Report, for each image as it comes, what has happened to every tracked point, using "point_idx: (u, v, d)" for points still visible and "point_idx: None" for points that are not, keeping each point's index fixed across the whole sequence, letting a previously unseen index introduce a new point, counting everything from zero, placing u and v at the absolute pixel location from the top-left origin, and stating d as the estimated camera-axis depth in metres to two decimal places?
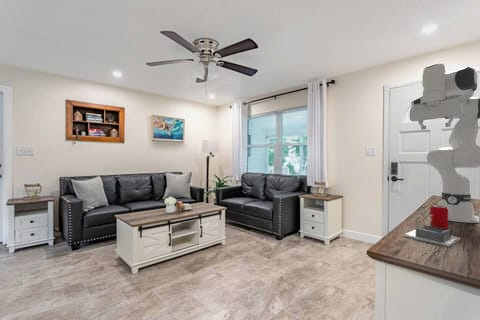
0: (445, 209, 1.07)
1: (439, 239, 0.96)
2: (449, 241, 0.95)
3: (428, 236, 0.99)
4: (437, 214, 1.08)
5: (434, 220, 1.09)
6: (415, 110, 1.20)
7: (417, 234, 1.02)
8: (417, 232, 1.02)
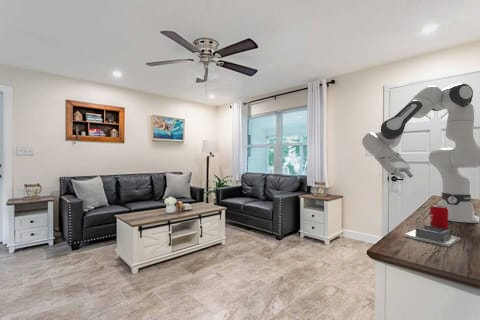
0: (445, 209, 1.07)
1: (439, 239, 0.96)
2: (449, 241, 0.95)
3: (428, 236, 0.99)
4: (437, 214, 1.08)
5: (434, 220, 1.09)
6: None
7: (417, 234, 1.02)
8: (417, 232, 1.02)
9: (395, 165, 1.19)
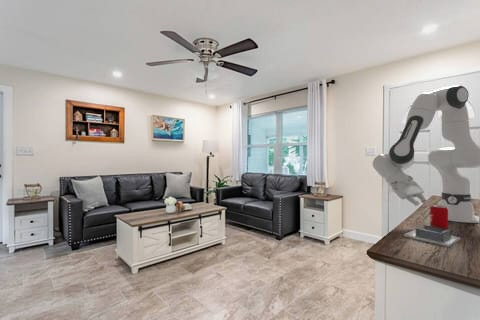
0: (445, 209, 1.07)
1: (439, 239, 0.96)
2: (449, 241, 0.95)
3: (428, 236, 0.99)
4: (437, 214, 1.08)
5: (434, 220, 1.09)
6: None
7: (417, 234, 1.02)
8: (417, 232, 1.02)
9: (409, 191, 1.14)
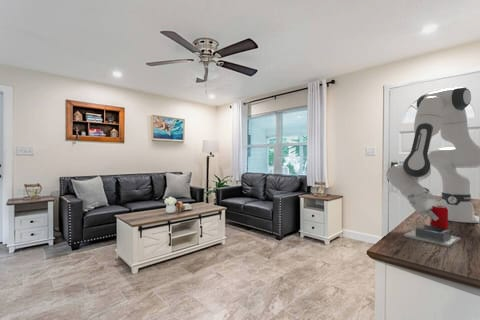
0: (445, 209, 1.07)
1: (439, 239, 0.96)
2: (449, 241, 0.95)
3: (428, 236, 0.99)
4: (437, 214, 1.08)
5: (434, 220, 1.09)
6: None
7: (417, 234, 1.02)
8: (417, 232, 1.02)
9: (427, 206, 1.09)
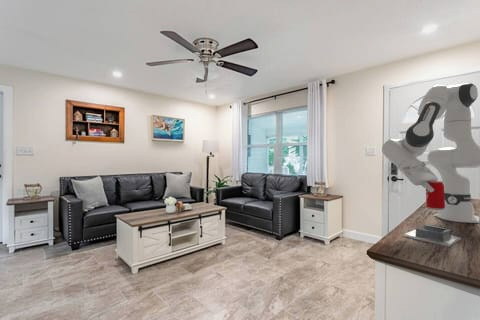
0: (441, 184, 1.03)
1: (439, 239, 0.96)
2: (449, 241, 0.95)
3: (428, 236, 0.99)
4: None
5: (430, 195, 1.05)
6: None
7: (417, 234, 1.02)
8: (417, 232, 1.02)
9: (423, 177, 1.05)
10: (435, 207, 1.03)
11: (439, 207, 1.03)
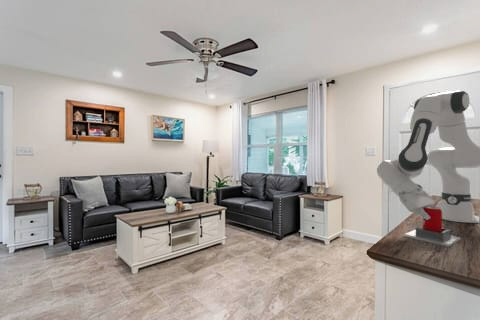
0: (439, 211, 0.99)
1: (439, 239, 0.96)
2: (449, 241, 0.95)
3: (428, 236, 0.99)
4: (431, 217, 1.00)
5: (428, 222, 1.01)
6: None
7: (417, 234, 1.02)
8: (417, 232, 1.02)
9: (419, 203, 1.01)
10: None
11: None
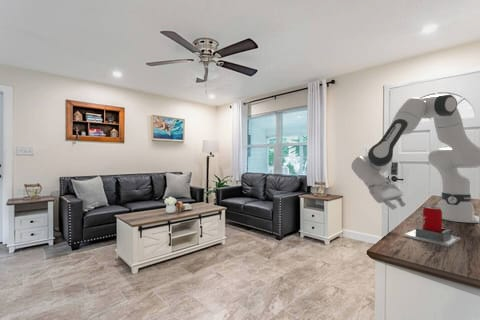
0: (439, 211, 0.99)
1: (439, 239, 0.96)
2: (449, 241, 0.95)
3: (428, 236, 0.99)
4: (431, 217, 1.00)
5: (428, 222, 1.01)
6: None
7: (417, 234, 1.02)
8: (417, 232, 1.02)
9: (386, 195, 1.12)
10: None
11: None
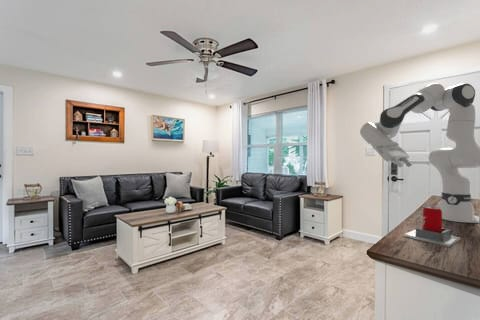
0: (439, 211, 0.99)
1: (439, 239, 0.96)
2: (449, 241, 0.95)
3: (428, 236, 0.99)
4: (431, 217, 1.00)
5: (428, 222, 1.01)
6: None
7: (417, 234, 1.02)
8: (417, 232, 1.02)
9: (394, 154, 1.18)
10: None
11: None
